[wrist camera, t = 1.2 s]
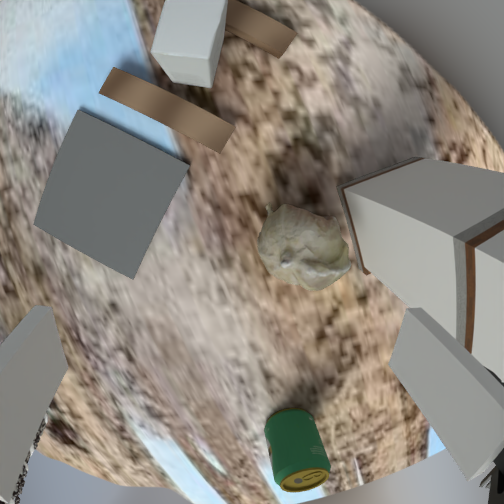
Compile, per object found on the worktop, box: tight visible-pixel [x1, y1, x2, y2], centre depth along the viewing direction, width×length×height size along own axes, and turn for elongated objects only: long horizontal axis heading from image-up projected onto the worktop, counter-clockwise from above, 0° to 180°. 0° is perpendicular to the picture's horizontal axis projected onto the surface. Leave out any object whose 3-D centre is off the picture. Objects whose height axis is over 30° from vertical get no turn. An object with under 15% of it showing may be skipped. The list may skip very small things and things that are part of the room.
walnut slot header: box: [99, 0, 297, 154], centre depth 26 cm, size 14×15×2 cm
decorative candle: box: [0, 413, 48, 504], centre depth 28 cm, size 9×9×25 cm
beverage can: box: [264, 408, 331, 492], centre depth 39 cm, size 8×8×12 cm
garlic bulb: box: [257, 202, 351, 291], centre depth 30 cm, size 9×8×10 cm
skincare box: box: [151, 0, 228, 88], centre depth 22 cm, size 6×4×12 cm
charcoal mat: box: [34, 110, 190, 279], centre depth 30 cm, size 14×14×1 cm
